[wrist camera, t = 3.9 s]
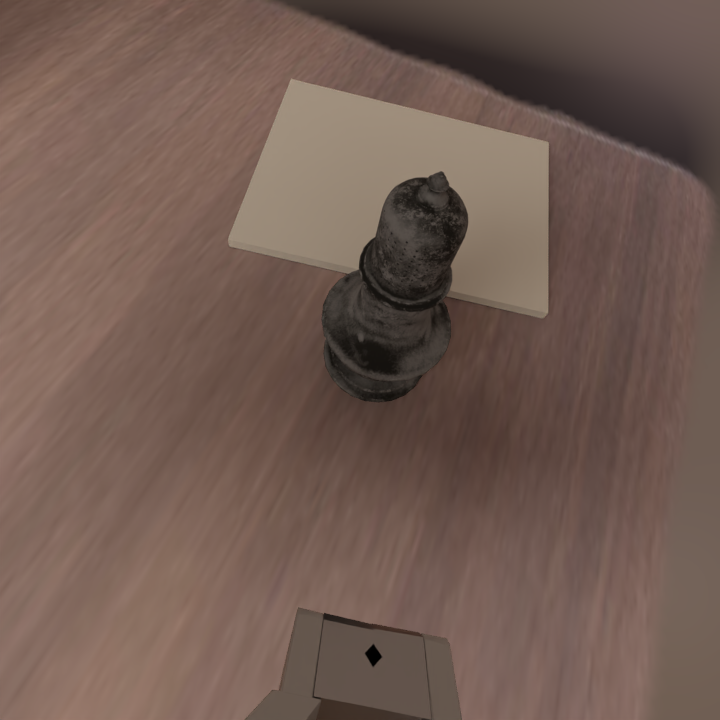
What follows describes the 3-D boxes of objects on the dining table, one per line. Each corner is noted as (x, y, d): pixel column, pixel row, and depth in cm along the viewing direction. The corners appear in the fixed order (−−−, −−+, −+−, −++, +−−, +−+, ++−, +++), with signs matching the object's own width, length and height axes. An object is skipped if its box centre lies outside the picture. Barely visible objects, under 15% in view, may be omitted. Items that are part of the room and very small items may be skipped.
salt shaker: (407, 295, 26) (490, 93, 15) (447, 391, 24) (577, 236, 13) (304, 317, 24) (313, 111, 14) (336, 421, 22) (378, 275, 11)
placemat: (229, 246, 26) (227, 239, 25) (291, 87, 32) (291, 78, 31) (543, 318, 26) (548, 313, 26) (544, 149, 32) (548, 142, 32)
